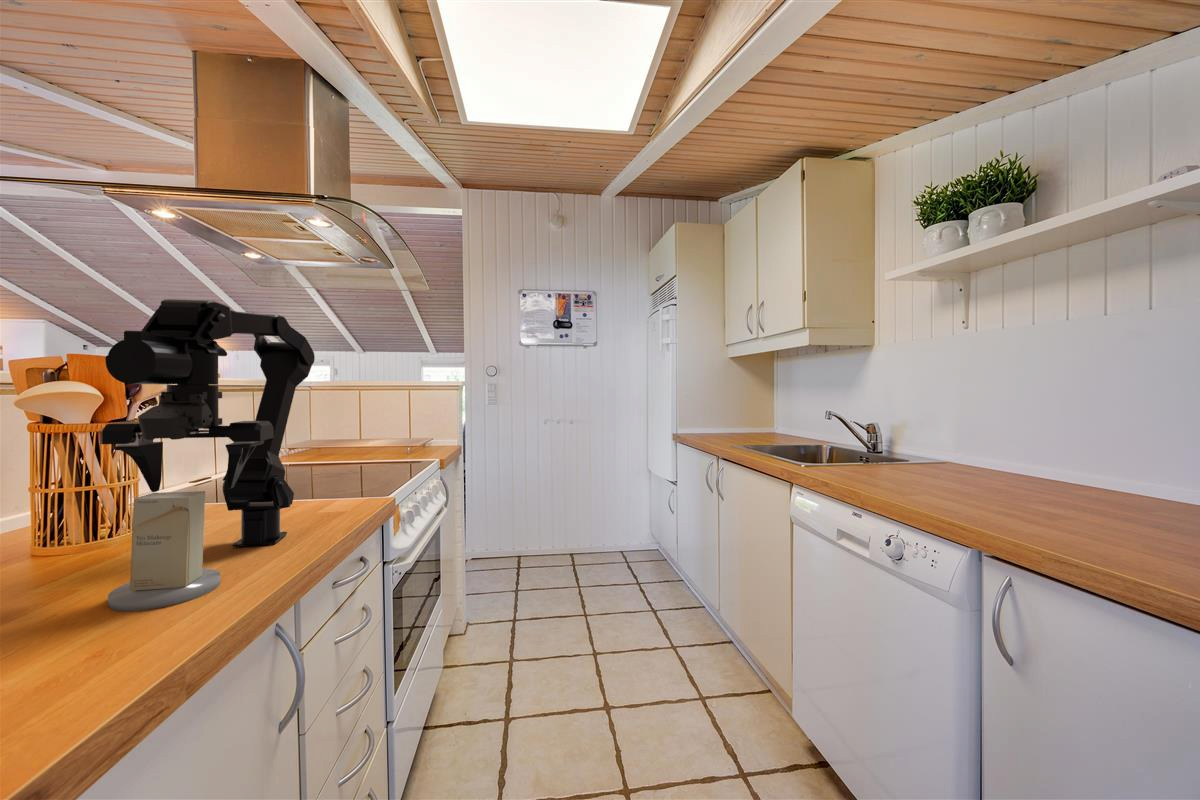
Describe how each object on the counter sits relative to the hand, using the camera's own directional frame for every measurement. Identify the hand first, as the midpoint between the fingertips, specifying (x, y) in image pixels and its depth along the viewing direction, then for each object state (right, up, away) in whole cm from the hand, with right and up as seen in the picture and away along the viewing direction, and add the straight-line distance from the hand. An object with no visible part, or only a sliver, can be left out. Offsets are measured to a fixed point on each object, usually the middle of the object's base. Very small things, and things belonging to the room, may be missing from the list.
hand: (193, 489), depth 68 cm
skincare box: (+2, -12, -6) cm, 13 cm away
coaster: (+2, -13, -6) cm, 14 cm away
